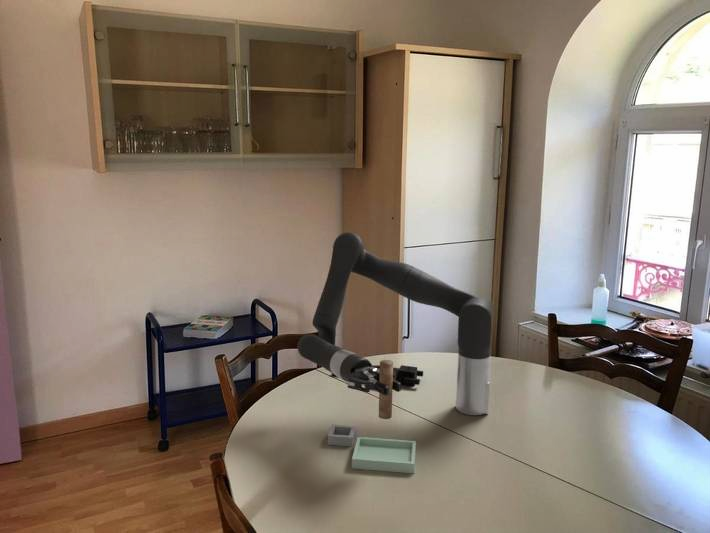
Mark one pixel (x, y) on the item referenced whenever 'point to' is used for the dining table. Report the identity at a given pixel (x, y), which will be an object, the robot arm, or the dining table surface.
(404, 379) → the toy
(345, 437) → the holder
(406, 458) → the tray
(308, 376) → the dining table surface
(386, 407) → the dowel
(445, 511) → the dining table surface
